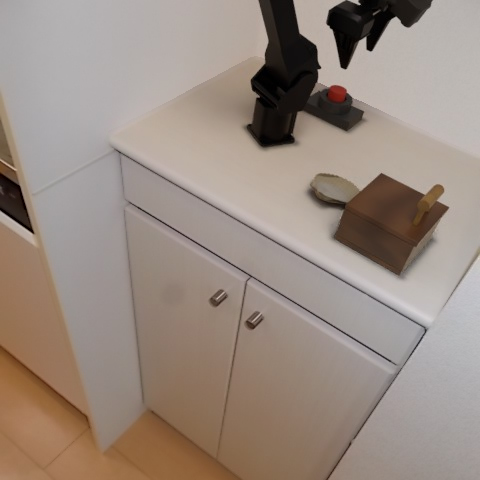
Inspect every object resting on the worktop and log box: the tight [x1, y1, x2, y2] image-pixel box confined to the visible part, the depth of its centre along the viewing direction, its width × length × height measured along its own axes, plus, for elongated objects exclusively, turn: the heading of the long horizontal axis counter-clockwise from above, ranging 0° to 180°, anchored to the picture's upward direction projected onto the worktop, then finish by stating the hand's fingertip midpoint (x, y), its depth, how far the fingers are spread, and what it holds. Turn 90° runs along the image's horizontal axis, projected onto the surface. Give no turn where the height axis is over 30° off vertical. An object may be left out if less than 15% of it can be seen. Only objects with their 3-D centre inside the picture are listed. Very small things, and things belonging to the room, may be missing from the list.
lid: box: [344, 172, 450, 247], centre depth 70 cm, size 11×11×5 cm
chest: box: [333, 208, 442, 276], centre depth 74 cm, size 11×11×5 cm
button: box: [327, 84, 348, 102], centre depth 95 cm, size 3×3×2 cm
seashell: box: [309, 172, 361, 205], centre depth 80 cm, size 8×3×8 cm
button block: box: [303, 87, 365, 132], centre depth 97 cm, size 10×6×4 cm, turn 54°
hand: (356, 59), depth 90 cm, fingers open, 9 cm apart
